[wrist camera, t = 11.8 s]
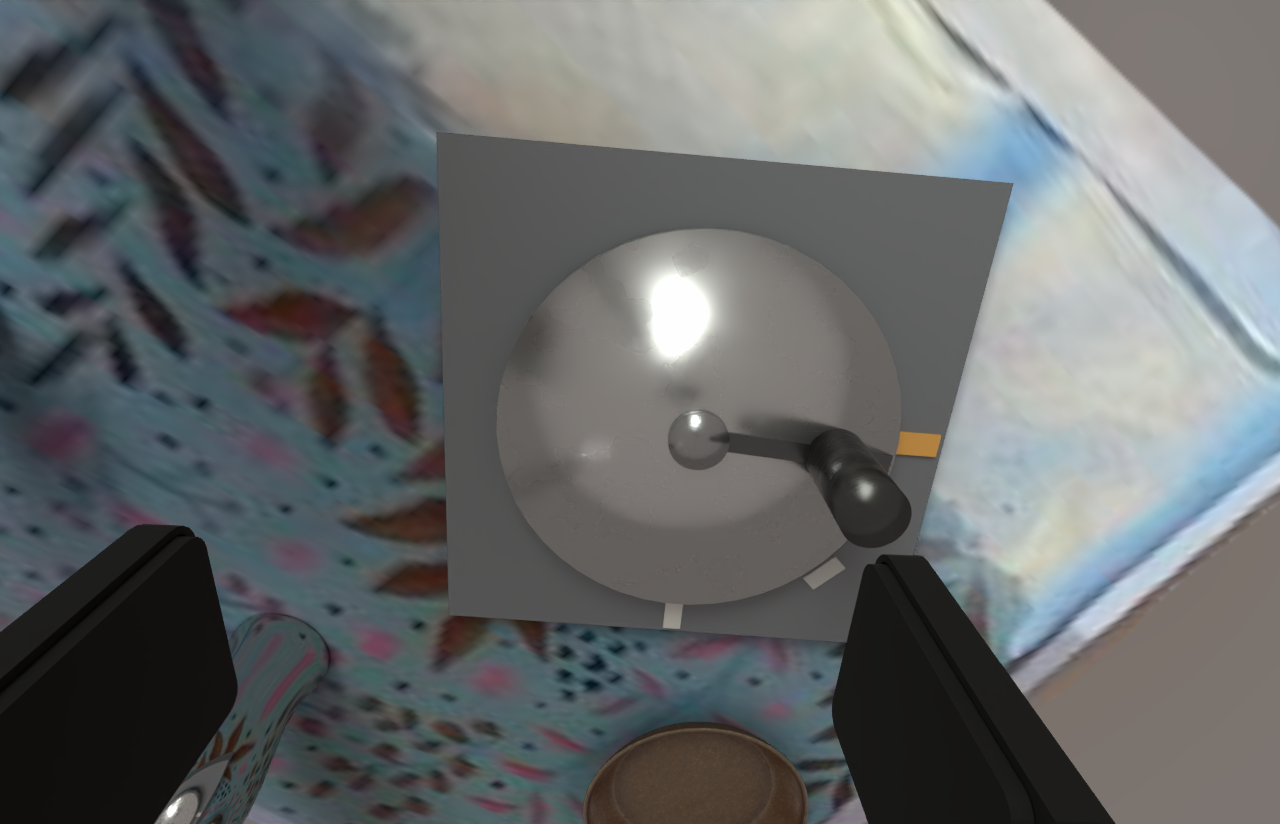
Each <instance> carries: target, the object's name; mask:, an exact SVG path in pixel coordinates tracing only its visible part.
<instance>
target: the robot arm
mask: <svg viewBox="0 0 1280 824" xmlns="http://www.w3.org/2000/svg"><path fill="white" fill-rule="evenodd" d="M237 692H238V683H237V678H236V673H235V669H234V665H233V660H232V656H231V652H230V647H229V643H228V639H227V634H226V630H225V626H224V621H223V617H222V613H221V608H220V604H219V600H218V595H217V591H216V587H215V582H214V578H213V574H212V569H211V565H210V560H209V556H208V552H207V547H206V545H205V542H204V541H203V540H202V539H201V538H199V537H195V535H194V533H193V531H192V530H191V529H190V528H188V527H185V526H175V525H150V524H142V525H137V526H135V527H133V528H131V529H130V530H129V531H127V532H126V533H125V534H124V535H122V536H121V537H120V538H118V539H117V540H116V541H115V542H113V543H112V544H111V545H110V546H108V547H107V548H106V549H105V550H103V551H102V552H101V553H100V554H98V555H97V556H96V557H95V558H93V559H92V560H91V561H89V562H88V563H87V564H86V565H84V566H83V567H82V568H81V569H79V570H78V571H77V572H76V573H74V574H73V575H72V576H71V577H69V578H68V579H67V580H66V581H64V582H63V583H62V584H60V585H59V586H58V587H57V588H55V589H54V590H53V591H52V592H50V593H49V594H48V595H47V596H45V597H44V598H43V599H42V600H40V601H39V602H38V603H37V604H35V605H34V606H33V607H31V608H30V609H29V610H28V611H26V612H25V613H24V614H23V615H21V616H20V617H19V618H18V619H16V620H15V621H14V622H13V623H11V624H10V625H9V626H8V627H6V628H5V629H4V630H3V631H1V632H0V824H154V823H155V822H156V820H157V819H158V817H159V816H160V814H161V813H162V811H163V810H164V808H165V807H166V805H167V804H168V803H169V801H170V800H171V798H172V797H173V795H174V794H175V792H176V791H177V789H178V788H179V786H180V785H181V784H182V782H183V781H184V779H185V778H186V776H187V775H188V773H189V772H190V770H191V769H192V768H193V766H194V765H195V763H196V762H197V760H198V759H199V757H200V756H201V754H202V753H203V751H204V750H205V749H206V747H207V746H208V744H209V743H210V741H211V740H212V738H213V737H214V735H215V734H216V732H217V731H218V730H219V728H220V727H221V725H222V724H223V722H224V721H225V719H226V718H227V716H228V715H229V714H230V712H231V710H232V708H233V706H234V704H235V701H236V697H237ZM832 717H833V723H834V727H835V731H836V734H837V736H838V739H839V742H840V745H841V748H842V750H843V753H844V756H845V759H846V762H847V765H848V767H849V770H850V773H851V776H852V779H853V781H854V784H855V787H856V790H857V793H858V796H859V798H860V801H861V804H862V807H863V810H864V812H865V815H866V818H867V821H868V824H1115V822H1114V821H1113V820H1112V818H1111V817H1110V816H1109V814H1108V813H1107V811H1106V810H1105V808H1104V807H1103V806H1102V804H1101V803H1100V801H1099V800H1098V799H1097V797H1096V796H1095V794H1094V793H1093V792H1092V790H1091V789H1090V787H1089V786H1088V785H1087V783H1086V782H1085V781H1084V779H1083V778H1082V776H1081V775H1080V773H1079V772H1078V771H1077V769H1076V768H1075V767H1074V765H1073V764H1072V762H1071V761H1070V759H1069V758H1068V757H1067V755H1066V754H1065V752H1064V751H1063V750H1062V749H1061V747H1060V745H1059V744H1058V743H1057V741H1056V740H1055V738H1054V737H1053V736H1052V734H1051V733H1050V731H1049V730H1048V729H1047V727H1046V726H1045V724H1044V723H1043V722H1042V720H1041V719H1040V717H1039V716H1038V715H1037V713H1036V712H1035V710H1034V709H1033V708H1032V706H1031V705H1030V703H1029V702H1028V701H1027V699H1026V698H1025V696H1024V695H1023V694H1022V692H1021V691H1020V689H1019V688H1018V687H1017V685H1016V684H1015V682H1014V681H1013V680H1012V678H1011V677H1010V675H1009V674H1008V673H1007V671H1006V670H1005V668H1004V667H1003V666H1002V664H1001V663H1000V662H999V661H998V659H997V658H996V656H995V655H994V654H993V652H992V651H991V649H990V648H989V646H988V645H987V644H986V642H985V641H984V639H983V638H982V637H981V635H980V634H979V632H978V631H977V630H976V628H975V627H974V625H973V624H972V623H971V621H970V620H969V618H968V617H967V616H966V614H965V613H964V611H963V610H962V609H961V607H960V606H959V604H958V603H957V602H956V600H955V599H954V597H953V596H952V595H951V593H950V592H949V590H948V589H947V588H946V586H945V585H944V583H943V582H942V581H941V579H940V578H939V576H938V575H937V574H936V572H935V571H934V569H933V568H932V567H931V565H930V564H929V562H928V561H927V560H926V559H925V558H924V557H922V556H917V555H892V554H882V555H880V556H879V557H878V558H877V560H876V563H875V564H867V565H866V567H865V568H864V571H863V574H862V579H861V583H860V587H859V591H858V596H857V600H856V604H855V608H854V612H853V617H852V621H851V625H850V629H849V634H848V638H847V642H846V646H845V651H844V655H843V659H842V663H841V668H840V672H839V676H838V680H837V685H836V689H835V693H834V697H833V703H832Z"/></svg>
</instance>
